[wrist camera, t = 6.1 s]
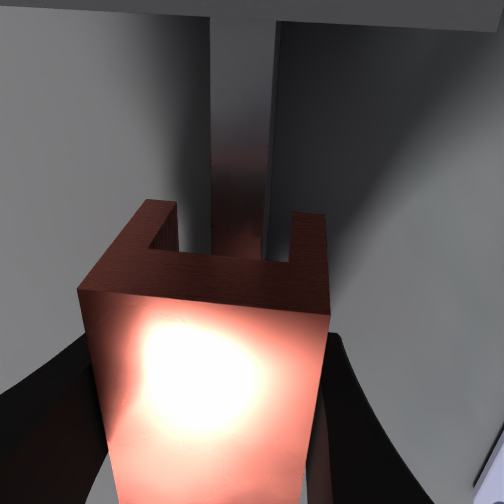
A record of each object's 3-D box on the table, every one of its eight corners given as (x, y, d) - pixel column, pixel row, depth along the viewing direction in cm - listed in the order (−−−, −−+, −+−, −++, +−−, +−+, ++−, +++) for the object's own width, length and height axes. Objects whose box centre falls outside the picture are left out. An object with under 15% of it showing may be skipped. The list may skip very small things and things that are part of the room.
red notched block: (324, 214, 11) (330, 315, 8) (298, 404, 15) (294, 529, 11) (146, 199, 12) (76, 288, 8) (162, 387, 15) (119, 504, 12)
